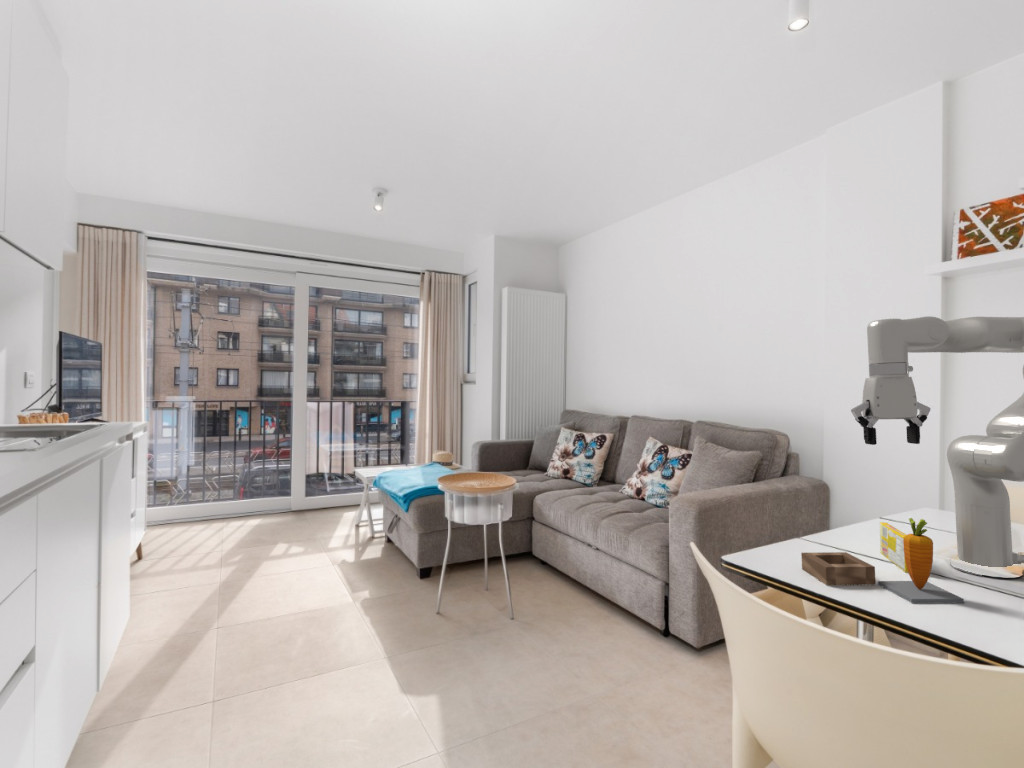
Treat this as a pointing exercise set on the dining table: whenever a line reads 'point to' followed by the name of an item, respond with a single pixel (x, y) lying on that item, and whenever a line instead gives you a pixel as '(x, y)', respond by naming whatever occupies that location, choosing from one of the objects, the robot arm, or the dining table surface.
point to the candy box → (892, 545)
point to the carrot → (918, 554)
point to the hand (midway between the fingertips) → (892, 443)
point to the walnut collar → (838, 568)
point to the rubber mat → (920, 592)
